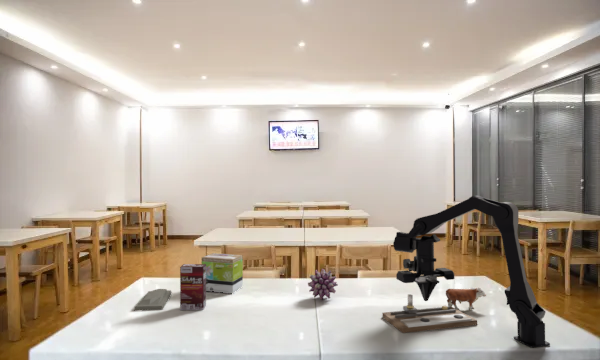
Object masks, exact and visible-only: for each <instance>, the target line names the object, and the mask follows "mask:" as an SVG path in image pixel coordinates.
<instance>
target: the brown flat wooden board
mask: <svg viewBox="0 0 600 360" xmlns="http://www.w3.org/2000/svg"><path fill="white" fill-rule="evenodd" d="M416 309H417V313H411V314H409V313H407V312H406V311H404V310H396V311H387V312H382V318H383V319H384V320H386V321H387V322H388V323H389V324H391V325H392V326H394V327H395V328H396V329H397V330H398V331H400V332H401V333H402V334H406V333H407V334H408V333H414V332H415V333H417V332H423V331H424V332H425V331H432V330H433V331H434V330H442V329H444V330H445V329H449V328H450V329H453V328H463V327H470V326H477V325H478V319H476V318H474V317H472V316H471V315H468V314H466V313H464V312H462V311H460V310H457V309H455V307H454V306H452V307H451V306H448V305H447V306H446V305H441V306H440V307H439V306H438V307H430V308H416Z"/></svg>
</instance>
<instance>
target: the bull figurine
mask: <svg viewBox="0 0 600 360" xmlns="http://www.w3.org/2000/svg"><path fill="white" fill-rule="evenodd" d="M445 296H446V299H447V300H446V302H447V307H448V306H451V307H453V308H455V309H457V310H459V311H460V308H459V307H458V306H457V303H456V302H458V303H459V304H462V303H464V302H465V303H466V302H467V303H468V310H469V311H473V310H474V309H475V307H474V306H473V304H474V303H475V302H477V300H479V298H481V297H483V298H484V297H487V293H485V290H484V289H483V288H482V287H481V286H479V287H470V288H463V289H462V288H448V289H446V291H445Z"/></svg>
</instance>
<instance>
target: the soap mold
mask: <svg viewBox="0 0 600 360" xmlns="http://www.w3.org/2000/svg"><path fill="white" fill-rule="evenodd" d="M171 293H172V290H171V289H169V290H168V289H167V288H156V289H154V290H149V291H147V293H146V294H144V296H143V297H142V298H141V300H140V301H138V303H137V304H136V305H135V306H134V309H133V312H136V311H135V310H142V311H155V310H156V311H158V310H164V308H165V306H167V305H166V304H167V303H168V302H169V300H170V298H171V296H172V295H171ZM172 294H173V293H172ZM170 295H171V296H170ZM169 297H170V298H169ZM168 299H169V300H168Z"/></svg>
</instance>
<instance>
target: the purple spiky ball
mask: <svg viewBox="0 0 600 360" xmlns="http://www.w3.org/2000/svg"><path fill="white" fill-rule="evenodd" d="M314 273H315V275H314V274H310V275H309V276H308V277H309V279H310V280H311V281H309V282H307V285H308V287H310V289H309V293H310V292H313V293H312V296H313V297H314V298H316V297H318V296H319V299H320V300H324V297H327V298H328V299H331V293H333V294H335V293H336V292H337V290H336V289H335V288H334V287H337V286H338V285H339V284H338V283H337V281H335V279H337V276H335V275H334V276H332V275H333V273H332V270H329V271H328V272H327V271H326V270H325V269H324V268H321V271H318V269H316V270H315V272H314Z"/></svg>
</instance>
